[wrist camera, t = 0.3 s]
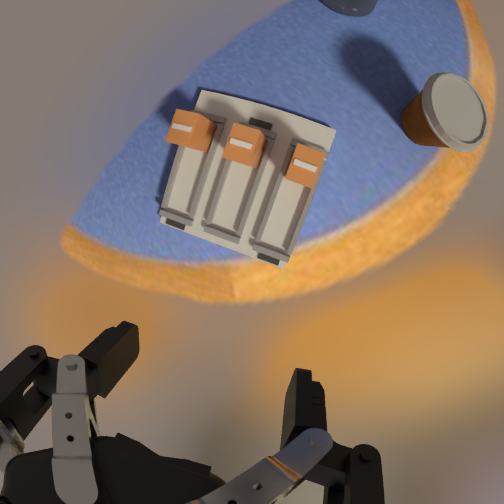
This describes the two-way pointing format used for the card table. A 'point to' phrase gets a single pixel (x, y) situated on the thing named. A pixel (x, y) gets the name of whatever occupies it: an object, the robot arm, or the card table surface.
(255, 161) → the tab mid
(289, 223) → the switch bank
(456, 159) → the card table surface
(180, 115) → the tab far
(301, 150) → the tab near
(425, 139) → the disposable coffee cup
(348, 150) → the card table surface
